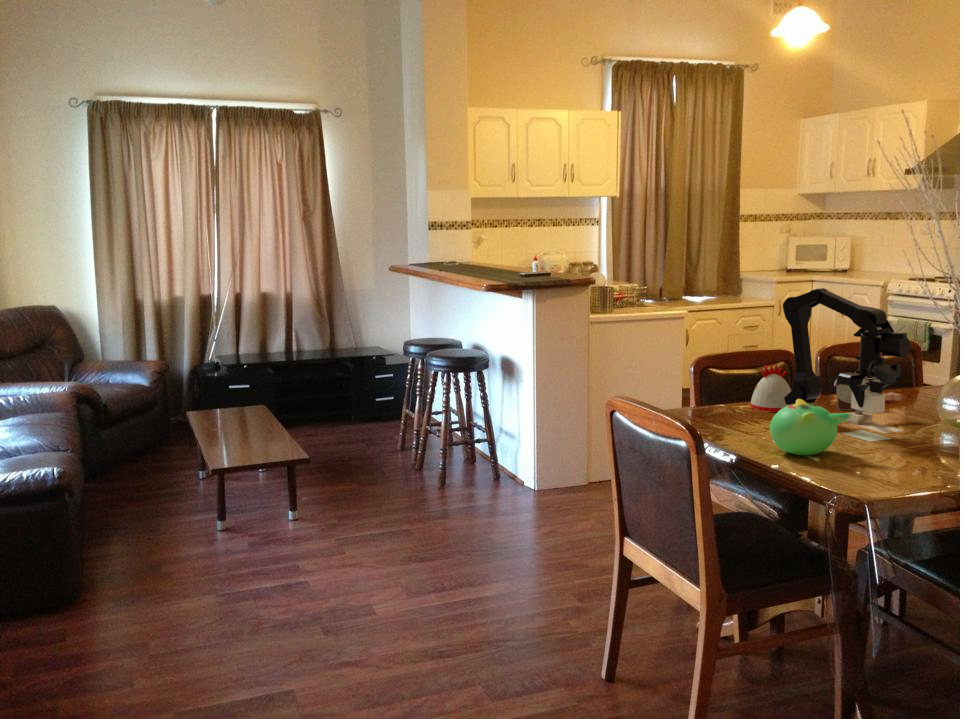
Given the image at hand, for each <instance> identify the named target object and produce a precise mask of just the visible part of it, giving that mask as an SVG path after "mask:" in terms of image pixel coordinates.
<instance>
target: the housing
mask: <svg viewBox="0 0 964 719" xmlns="http://www.w3.org/2000/svg"><path fill="white" fill-rule="evenodd" d="M850 413H851V414H852V416H851V417H850V418H849V419H847V420H845V421H844V422H846V423H849V424H851V425H852V424H853V425H856V426H857V427H860V428H862V429H863V428H864V429H867V430H871V431H875V432H878V433H881V434H890V433H897V432H898V433H899V432H903V431H905V429H901V428H897V427H893V426H889V425H885V424H882V423H878V422H873V414H874V413H869V412H865V411H861V410H857V409H856V410H855V411H854V412H853V411H852V412H851V411H850Z"/></svg>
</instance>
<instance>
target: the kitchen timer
mask: <svg viewBox="0 0 964 719" xmlns="http://www.w3.org/2000/svg"><path fill="white" fill-rule="evenodd" d="M782 369H783V368H782V367H779V369H778V365H777V364H775V365H774V368H773V364H770V366H769V369H768V366H767V364H765V365H764V370H763V369H762V368H760V372H761V374H762V376H763V377H762V378H761V379H760V380H759V381H758V383H757V384H756V385H755V386H754V390H753V393H752V396H751V400H750V408H751V407H753V408H755V409H759V410H764V411H771V412H778V411H779V410H781V409H782V408H784V407H786V406H788V404H786V403H785V399H784V397H785V396H787V395H788V394H789V393H790V392H791V391H792V388H791V387H790V385H789V384H788V383H789V382H787V381H786V379H784V377H785V375H786V373H787V372H786V370H785V371H784V372H783V373H782ZM781 373H782V374H781ZM771 412H770V413H771Z"/></svg>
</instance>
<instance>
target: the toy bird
mask: <svg viewBox="0 0 964 719" xmlns="http://www.w3.org/2000/svg"><path fill="white" fill-rule="evenodd" d="M851 416H852V414H851V412H841V413H839V412H838V413H831V411H829V410H827V409H826V408H824V407H823V406H820V405H817V404H815V403H811V404H809V403H806V402H805V401H804V400H802V399H797V400H796V403H795V404H792V405H788V406H786V407H784V408H782V409H781V410H779V411H778V412H777V413H774V415H773V417H772V419H771V421H770V423H769V424H770V425H769V432H770V437H771V439H772V441H773V443H774V444H775V445H776V446H777V447H778V448H779V449H780V450H782V451H784V452H786V453H789V454H791V455H792V454H793V455H796V456H812V455H817V454H819V453H822V452H824V451H825V450H827V449H828V448H829V447H830V446H832V444H833V443H834V442H835V440H836V438H837V436H838V425H839V424H841V423H843V422H845V420H847V419H849V418H850V417H851Z"/></svg>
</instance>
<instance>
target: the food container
mask: <svg viewBox="0 0 964 719" xmlns="http://www.w3.org/2000/svg"><path fill="white" fill-rule="evenodd" d="M865 385H868V387H867V388H866V390H867V391H870V387H869V380H868V381H865ZM833 386H834V387H835V391H836V392H835V393H836V409H837V410H838V411H856V409H853V408H851V396H852V390H851V389H850V387H849V385H845V384H841V383H837V378H836V379H835V381H834V384H833Z"/></svg>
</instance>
